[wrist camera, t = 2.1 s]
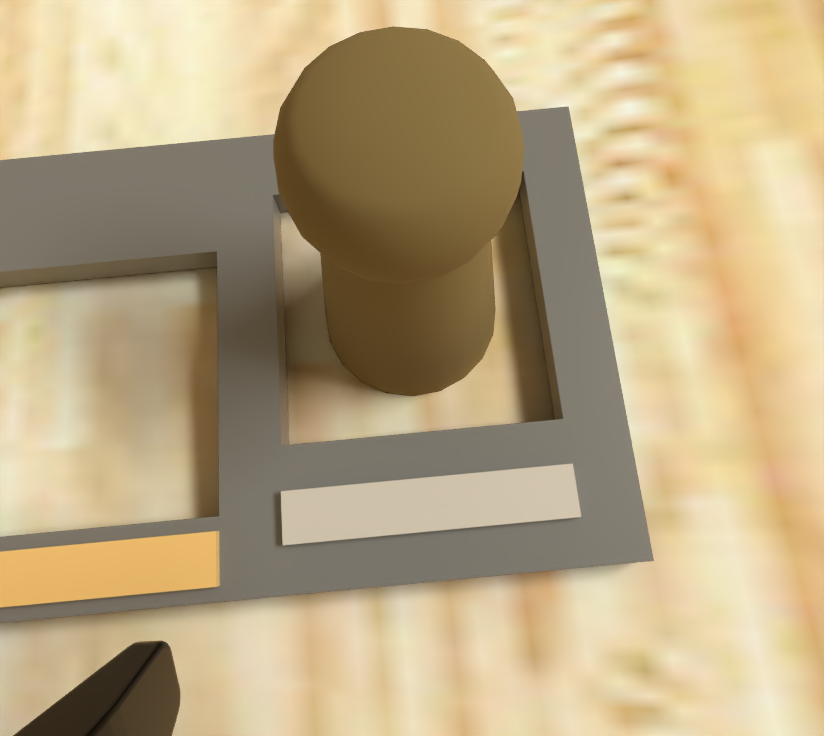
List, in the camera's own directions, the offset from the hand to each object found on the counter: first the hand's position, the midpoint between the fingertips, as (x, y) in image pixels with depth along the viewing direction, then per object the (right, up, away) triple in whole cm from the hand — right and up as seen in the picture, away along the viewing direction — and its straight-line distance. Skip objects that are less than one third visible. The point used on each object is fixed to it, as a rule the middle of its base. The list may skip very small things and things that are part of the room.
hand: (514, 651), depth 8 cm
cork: (-1, +6, +14) cm, 15 cm away
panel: (-7, +4, +14) cm, 16 cm away
